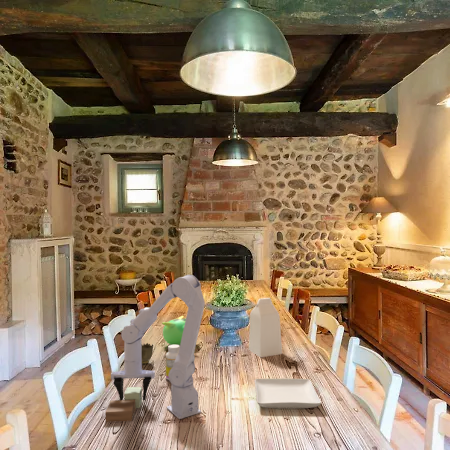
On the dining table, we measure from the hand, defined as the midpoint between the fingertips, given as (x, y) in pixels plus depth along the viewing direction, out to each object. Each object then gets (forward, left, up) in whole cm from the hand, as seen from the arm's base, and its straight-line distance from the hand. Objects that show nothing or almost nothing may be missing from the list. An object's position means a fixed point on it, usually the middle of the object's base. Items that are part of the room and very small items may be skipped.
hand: (133, 399), depth 130 cm
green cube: (0, 0, -2) cm, 2 cm away
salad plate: (-26, -46, -2) cm, 53 cm away
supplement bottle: (+13, -22, -2) cm, 26 cm away
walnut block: (-5, +6, -2) cm, 8 cm away
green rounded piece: (+50, -44, -2) cm, 67 cm away
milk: (+17, -73, -2) cm, 75 cm away
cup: (+36, -19, -2) cm, 41 cm away
